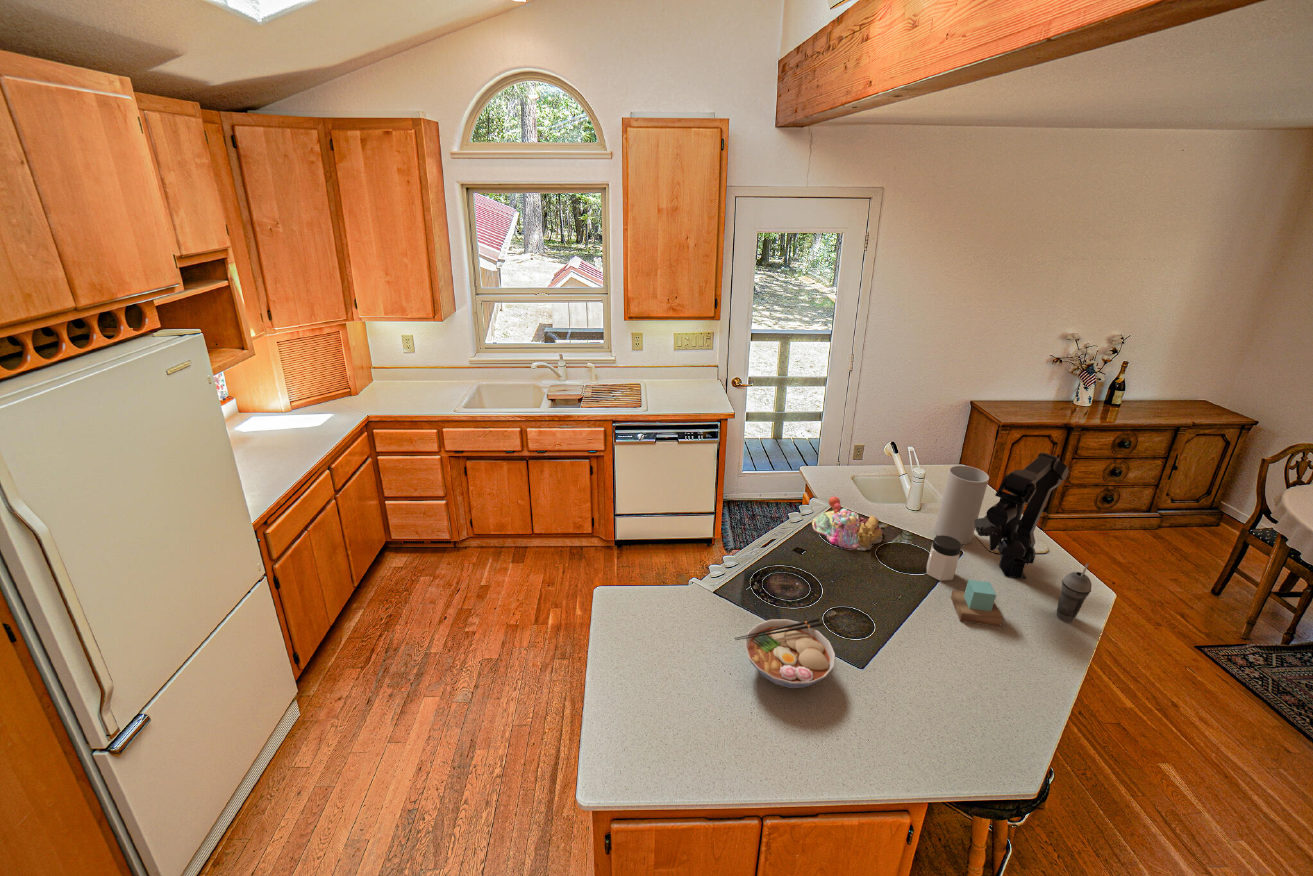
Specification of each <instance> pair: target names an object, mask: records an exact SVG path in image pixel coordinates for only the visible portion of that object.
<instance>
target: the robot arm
mask: <svg viewBox="0 0 1313 876" xmlns="http://www.w3.org/2000/svg"><path fill="white" fill-rule="evenodd" d="M1069 472H1070V471H1069V468H1068V465H1067V464H1065V463H1064V462H1062V461H1061V460H1060V458H1059V457H1057V456H1055V455H1053V454H1049V453H1047V452H1040V453H1038V455H1037V457H1036V458H1035V459H1034V460H1033V461H1032V462H1030V463H1029V464H1027V465H1026V467H1024V468H1023V469H1014V470H1013V471H1010V472H1009V473H1008V474H1006V475H1005V476H1004V478H1003V480H1002V482H1001V484H999V485H1000V486H999V487H998V489H997V491H996V493H995V494H994V495H995V497H997V498H999V501H998V502H997V503H996V504H994V505H993V506H991V507H989V508H988V509H987V511H986V515H985V516H984V517H981V518H980V517H978V519H975V520H974V523H975V531H976V533H977V535H978V536H979V537H989V550H990V551H993V552H994V551H995V550H996V548H997V550H998V552H999V554H1000V556H999V557H1000V559H999V564H998V566H999V568H1000V570H1001V572H1002V574H1003V576H1005V577H1009V578H1018V579H1023V580H1024V579H1026V578H1027V576H1026V574H1025V572H1024V570H1025V567H1026V565H1029V564H1034V561H1035V558H1036V555H1037V552H1036V550H1035V548H1034V546H1035V544H1036V539H1035V535H1034V531H1035V530H1036V527H1037V525H1038V523H1039V520H1040V519H1041V515H1042V514H1043V511H1044V508H1045V507H1046V504H1047V503H1048V500H1049V498H1050V495H1051V493H1052V491H1053V490H1054V489H1055V490H1056V488H1058V487H1059V486H1060V485H1062V483H1063V481H1065V480H1066V479H1067V477H1068V474H1069ZM1005 491H1006V492H1005ZM1026 504H1027V505H1026ZM1025 506H1026V507H1025Z"/></svg>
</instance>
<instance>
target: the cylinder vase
mask: <svg viewBox="0 0 1313 876" xmlns="http://www.w3.org/2000/svg"><path fill="white" fill-rule="evenodd" d="M947 473H948V474H947V477H946V481H945V484H944V489H943V493H942V495H941V501H940V506H939V508H938V513H937V517H936V521H935V525H934V529H933V530H934V533H935V535H936V536H940V535H944V536H949V537H952V538H954V539H956V540H958V541H959V542H960V543H961V545H967V544H969V543H971V541H972V540H973V537H974V534H975V531H976V529H975V523H974V520H975V519H979V516H980V512H981V509H982V505H983V501H984V497H985V494H986V490H987V487H988V484H989V479H990V476H989V475H988V474H987V472H985V471H983V470H982V469H980V468H976V467H974V466H969V465H959V464H958V465H953V466H951V467H949V469H948V472H947Z"/></svg>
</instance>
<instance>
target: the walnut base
mask: <svg viewBox="0 0 1313 876" xmlns="http://www.w3.org/2000/svg"><path fill="white" fill-rule="evenodd" d="M964 593H965V590H958V589H952V592H951V595H950V600H951V602H952V605H953V607H954V610H955V612H956V615H957V618H958V620H959V622H961V623H962V622H963V623H970V624H975V625H976V624H979V625H985V626H992V627H993V626H994V627H1001V626H1002V622H1003V619H1004V618H1003V616H1002V614H1001V611H1000V609H999V608H998V605H997V604H996V602H995V601H994V604H993V607H992V610H991V611H983V610H975V609H969V607H968V605H967V602H966V600H965V598H964Z"/></svg>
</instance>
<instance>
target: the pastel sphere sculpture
mask: <svg viewBox="0 0 1313 876" xmlns="http://www.w3.org/2000/svg"><path fill="white" fill-rule="evenodd" d="M828 505H829V507H831V508H832V510H830V511H826V512H823V511H822V512H820V513H819V514H818V515H817V516H816V517H815V518H813V520H812V521H811V525H812V529H813V531H814V532H815V533H818V534H819V535H822V536H825V537H826V539H827V541H829V543H830V544H831V545H835V546H839V547H840V549H843V548H844V549H848V550H849V551H851V550H852V549H854V550H858V551H866V550H871V549H872V546H873V544H879V543H881V542H882V541H883V537H884V536H883V532H884V531H883V529H881V528H880V525H879V522H880V520H879V519H878V518H877V517H876V516H874V515H870V516H869V518H863V517H860V515H859V514H858V513H856V512H855V511H851V510H848V509H847V508H842V504H841V500H840V498H839V497H837V496H832V497H830V498H829V499H828Z"/></svg>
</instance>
